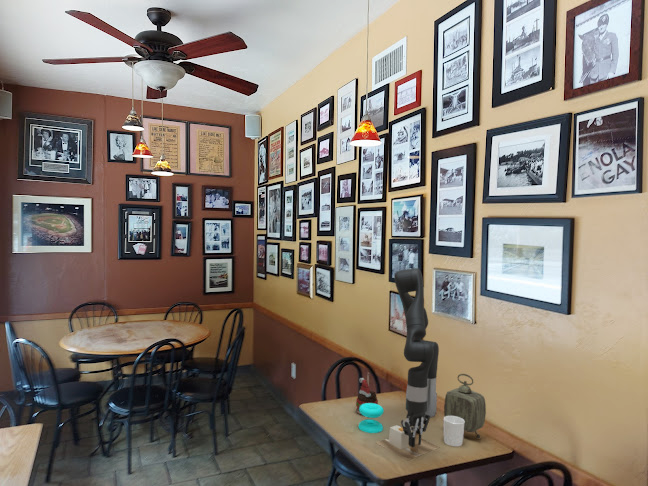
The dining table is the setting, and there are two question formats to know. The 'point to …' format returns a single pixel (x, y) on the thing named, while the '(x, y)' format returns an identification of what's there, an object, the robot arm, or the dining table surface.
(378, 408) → the donuts
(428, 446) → the board
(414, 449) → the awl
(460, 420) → the white cup
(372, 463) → the dining table surface
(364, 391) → the cake
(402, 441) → the white block
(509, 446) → the dining table surface
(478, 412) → the tabletop clock
